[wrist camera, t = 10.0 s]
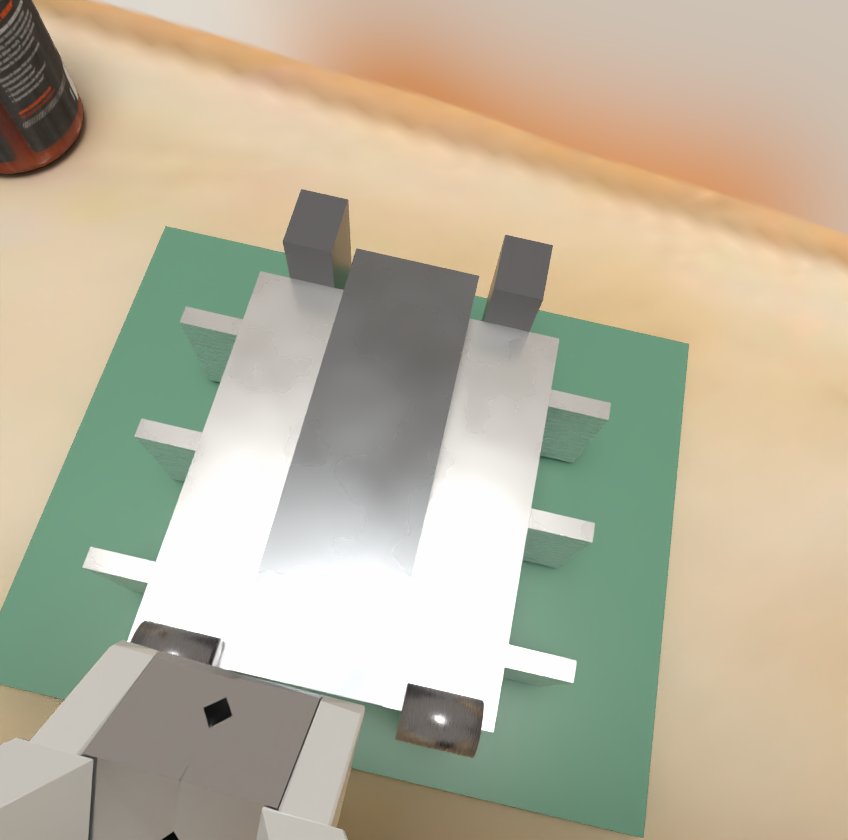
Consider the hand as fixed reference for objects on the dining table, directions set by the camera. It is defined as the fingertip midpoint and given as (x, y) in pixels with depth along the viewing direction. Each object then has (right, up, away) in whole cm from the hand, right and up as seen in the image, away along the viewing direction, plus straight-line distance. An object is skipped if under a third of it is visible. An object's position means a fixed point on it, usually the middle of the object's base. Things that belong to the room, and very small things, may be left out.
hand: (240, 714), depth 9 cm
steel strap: (+1, +2, +13) cm, 13 cm away
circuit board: (0, 0, +19) cm, 19 cm away
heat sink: (0, 0, +17) cm, 17 cm away
